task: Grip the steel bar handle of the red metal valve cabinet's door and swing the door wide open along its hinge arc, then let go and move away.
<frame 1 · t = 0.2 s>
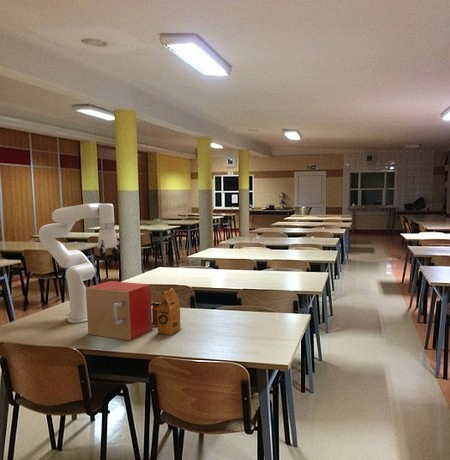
hand: (109, 258, 262), 37 cm above the table, tool pointing down, fingers open, 9 cm apart
door: (103, 315, 240), point 12 cm above the table, hinge at 0.0°
condiment: (156, 324, 266), on the table
coffee package: (169, 331, 252), on the table
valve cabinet: (121, 331, 254), on the table
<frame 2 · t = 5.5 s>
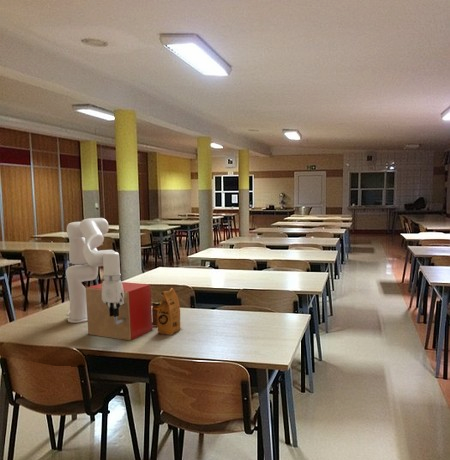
hand: (114, 315, 232), 14 cm above the table, tool pointing down, fingers closed on door
door: (103, 315, 240), point 12 cm above the table, hinge at 0.0°, touching gripper
everything else where it was.
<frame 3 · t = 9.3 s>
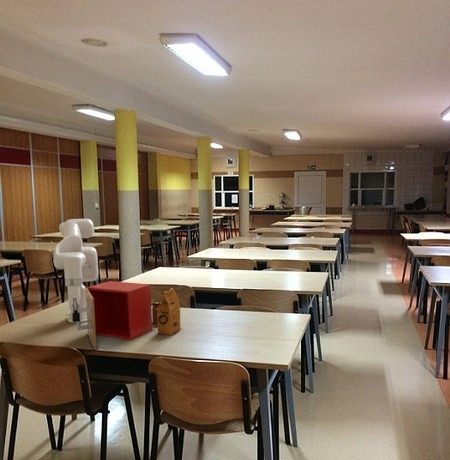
hand: (76, 320, 225), 14 cm above the table, tool pointing down, fingers closed on door
door: (83, 318, 236), point 12 cm above the table, hinge at 41.7°, touching gripper
everything else where it was.
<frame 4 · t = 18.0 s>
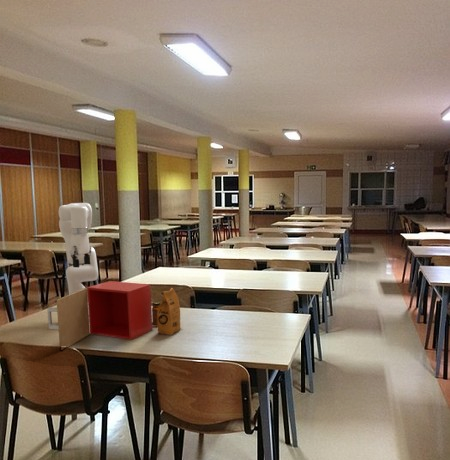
hand: (81, 265, 242), 36 cm above the table, tool pointing down, fingers open, 9 cm apart
door: (67, 317, 237), point 12 cm above the table, hinge at 76.4°
everything else where it was.
at the end: door at +76° (first picture: +0°); the gripper is holding nothing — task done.
